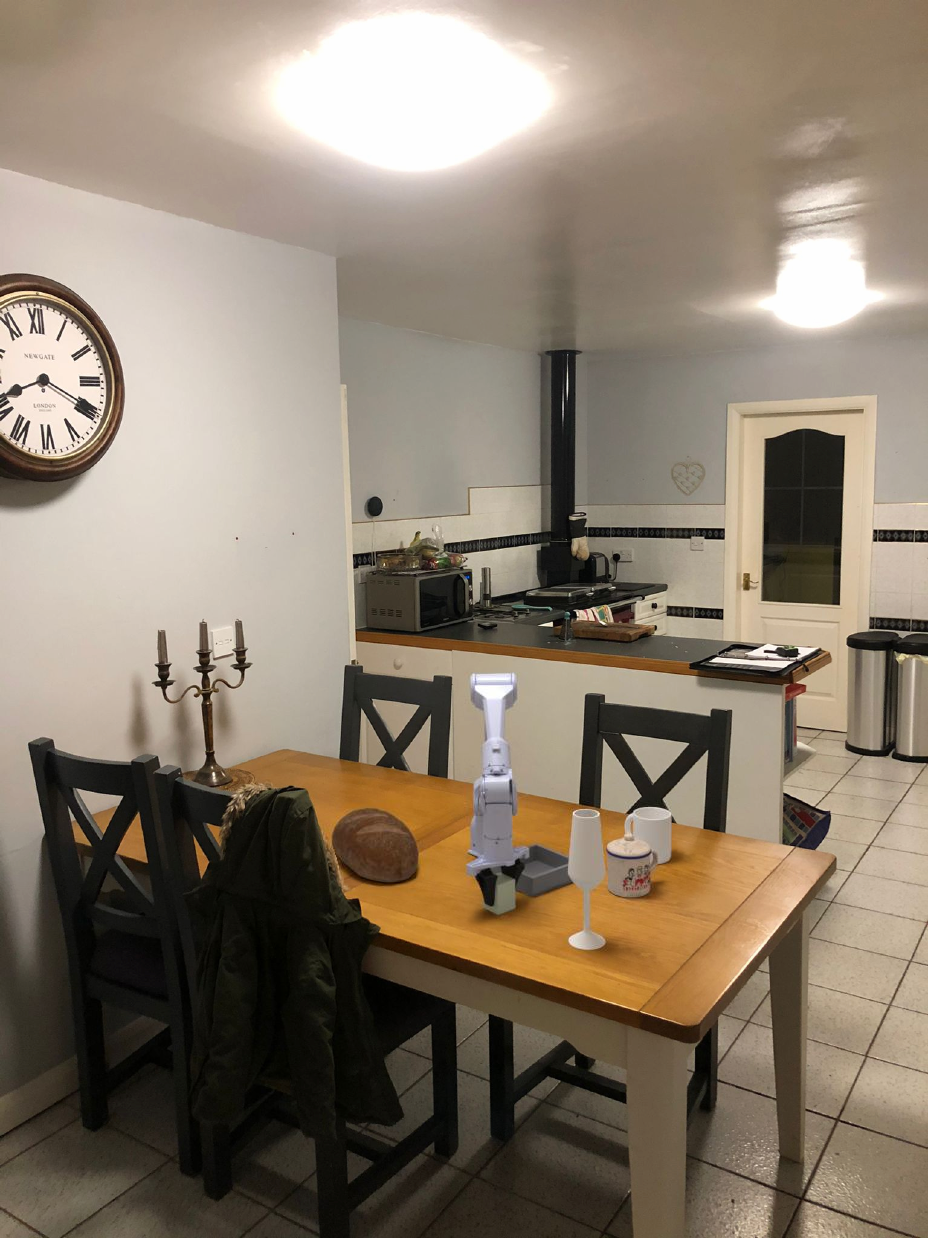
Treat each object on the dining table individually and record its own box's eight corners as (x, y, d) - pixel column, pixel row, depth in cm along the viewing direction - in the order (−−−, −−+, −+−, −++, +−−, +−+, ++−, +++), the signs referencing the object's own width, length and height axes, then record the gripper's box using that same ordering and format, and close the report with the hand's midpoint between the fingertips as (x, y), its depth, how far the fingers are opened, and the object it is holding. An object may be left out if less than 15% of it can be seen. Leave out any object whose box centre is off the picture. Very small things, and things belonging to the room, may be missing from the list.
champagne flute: (602, 932, 176) (601, 806, 173) (608, 949, 169) (608, 819, 166) (565, 933, 176) (564, 808, 173) (571, 950, 169) (570, 820, 166)
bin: (489, 877, 202) (489, 859, 202) (536, 860, 210) (536, 843, 210) (532, 897, 192) (532, 878, 191) (580, 879, 200) (580, 861, 199)
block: (483, 907, 188) (482, 878, 187) (500, 901, 190) (500, 872, 190) (497, 915, 184) (497, 885, 183) (515, 908, 187) (514, 879, 186)
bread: (366, 893, 196) (364, 840, 195) (319, 848, 222) (317, 800, 220) (434, 877, 203) (433, 826, 202) (381, 835, 229) (379, 789, 228)
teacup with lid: (625, 902, 188) (625, 846, 187) (597, 886, 196) (597, 832, 195) (671, 889, 194) (672, 834, 193) (642, 874, 202) (642, 821, 200)
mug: (613, 852, 214) (612, 808, 213) (638, 843, 219) (638, 800, 218) (653, 868, 205) (653, 822, 204) (679, 858, 210) (679, 813, 208)
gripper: (482, 849, 178) (483, 918, 179) (539, 831, 186) (540, 897, 188) (458, 839, 183) (460, 906, 185) (515, 822, 192) (516, 886, 194)
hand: (499, 901), depth 187 cm, fingers closed on block, 4 cm apart
